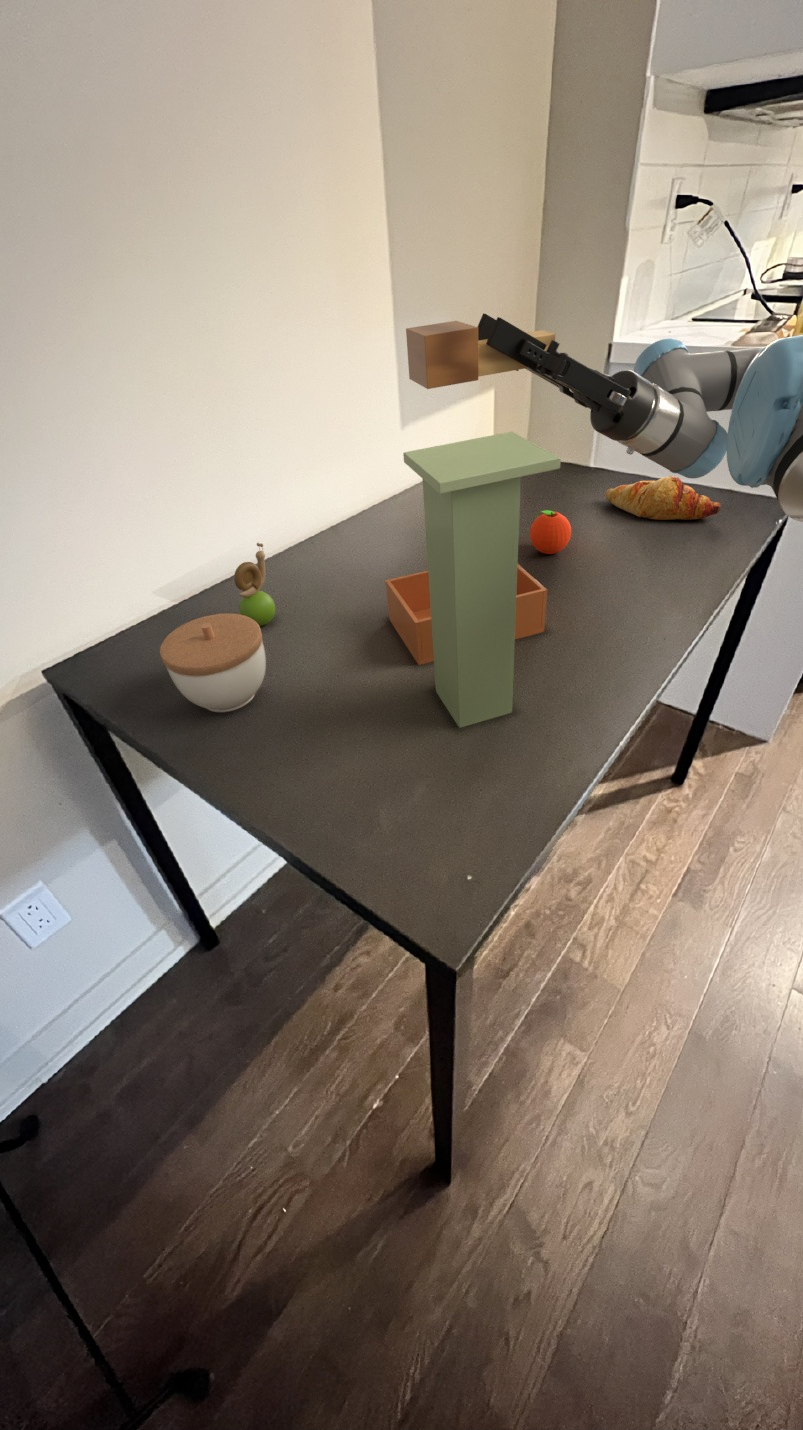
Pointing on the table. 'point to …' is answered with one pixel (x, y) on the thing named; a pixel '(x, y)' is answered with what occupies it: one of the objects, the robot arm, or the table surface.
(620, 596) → the table surface
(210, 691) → the lidded bowl
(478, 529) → the shelf stand
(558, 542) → the clementine
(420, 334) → the mallet
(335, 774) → the table surface
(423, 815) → the table surface
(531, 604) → the open box
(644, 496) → the croissant
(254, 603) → the snail figurine
